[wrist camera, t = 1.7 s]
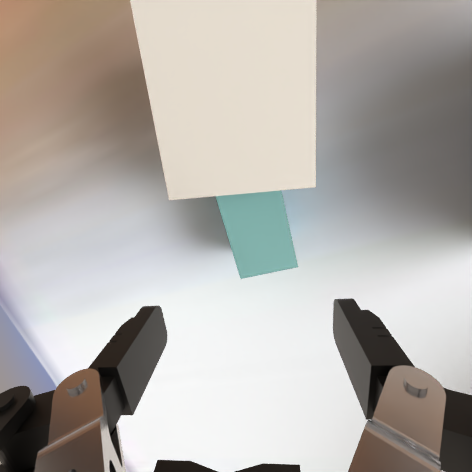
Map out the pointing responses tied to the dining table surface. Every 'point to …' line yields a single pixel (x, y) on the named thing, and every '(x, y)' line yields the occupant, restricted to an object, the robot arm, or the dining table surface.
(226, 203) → the teal rectangular block
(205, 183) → the cream rectangular block
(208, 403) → the dining table surface
